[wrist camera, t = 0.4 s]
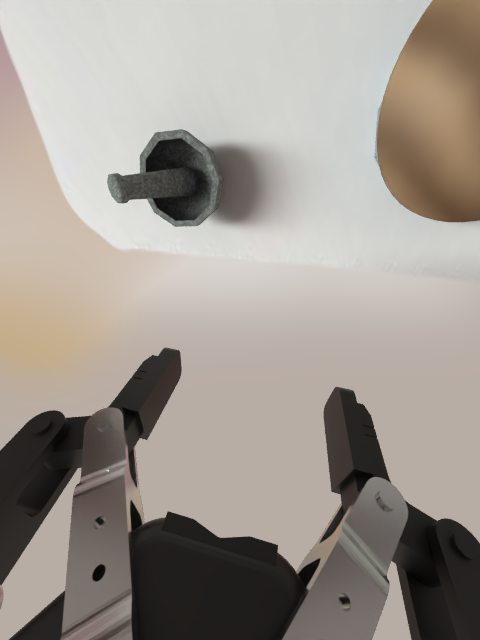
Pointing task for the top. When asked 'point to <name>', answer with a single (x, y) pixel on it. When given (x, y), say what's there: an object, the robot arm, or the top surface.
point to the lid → (435, 116)
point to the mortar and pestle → (173, 179)
